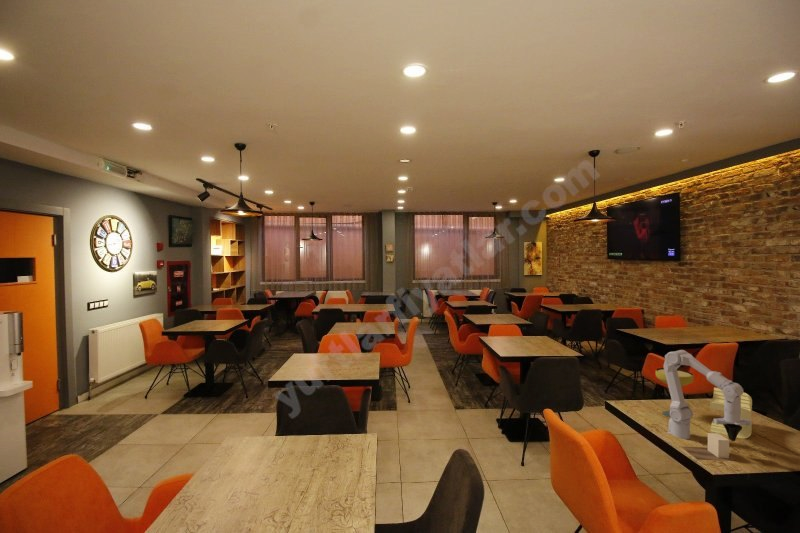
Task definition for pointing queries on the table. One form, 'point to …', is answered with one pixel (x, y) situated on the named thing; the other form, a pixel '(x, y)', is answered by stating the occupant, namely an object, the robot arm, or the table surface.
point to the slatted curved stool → (745, 413)
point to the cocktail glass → (683, 377)
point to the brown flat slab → (704, 454)
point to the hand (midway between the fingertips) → (731, 440)
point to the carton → (718, 445)
